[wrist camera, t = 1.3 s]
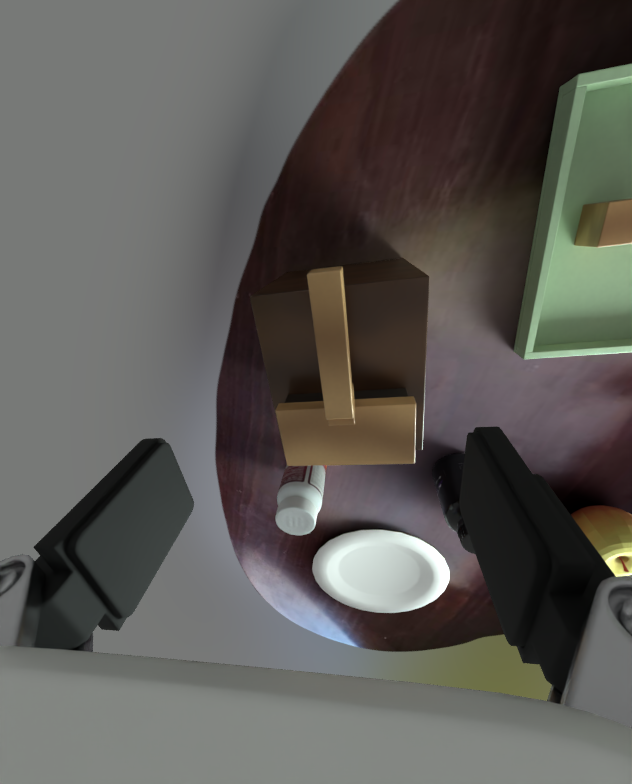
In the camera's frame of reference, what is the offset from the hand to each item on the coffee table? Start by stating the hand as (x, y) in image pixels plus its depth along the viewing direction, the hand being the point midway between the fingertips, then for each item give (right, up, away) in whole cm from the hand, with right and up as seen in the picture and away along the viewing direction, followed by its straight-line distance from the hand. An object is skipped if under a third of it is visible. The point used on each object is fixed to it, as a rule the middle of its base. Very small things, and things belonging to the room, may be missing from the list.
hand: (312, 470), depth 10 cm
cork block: (+27, +19, +20) cm, 38 cm away
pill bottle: (-1, -8, +39) cm, 40 cm away
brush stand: (+4, +10, +28) cm, 30 cm away
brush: (+2, +5, +15) cm, 16 cm away
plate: (+12, -31, +49) cm, 59 cm away
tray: (+30, +18, +20) cm, 40 cm away
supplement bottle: (+21, -9, +36) cm, 43 cm away
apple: (+42, -17, +38) cm, 59 cm away
